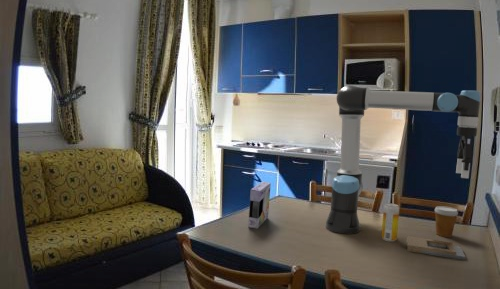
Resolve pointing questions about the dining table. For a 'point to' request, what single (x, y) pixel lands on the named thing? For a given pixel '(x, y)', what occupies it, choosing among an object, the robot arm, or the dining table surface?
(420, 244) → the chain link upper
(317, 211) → the dining table surface
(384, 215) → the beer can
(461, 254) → the grey flat plate
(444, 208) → the disposable coffee cup
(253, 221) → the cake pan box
